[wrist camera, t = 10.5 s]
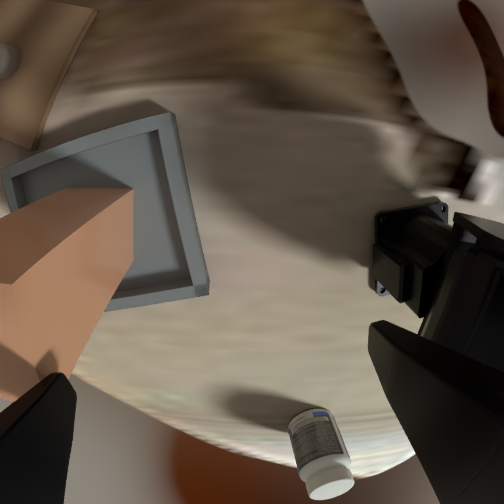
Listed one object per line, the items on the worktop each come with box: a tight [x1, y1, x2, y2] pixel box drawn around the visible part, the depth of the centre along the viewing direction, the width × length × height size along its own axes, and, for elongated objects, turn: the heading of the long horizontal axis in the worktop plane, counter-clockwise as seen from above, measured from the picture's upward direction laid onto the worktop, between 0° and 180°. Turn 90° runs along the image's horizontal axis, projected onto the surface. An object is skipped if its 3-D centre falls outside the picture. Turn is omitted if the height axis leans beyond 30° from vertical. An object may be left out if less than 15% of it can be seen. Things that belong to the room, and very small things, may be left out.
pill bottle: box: [288, 409, 354, 500], centre depth 24 cm, size 5×5×8 cm
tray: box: [1, 112, 210, 312], centre depth 18 cm, size 12×11×2 cm
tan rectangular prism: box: [0, 187, 134, 401], centre depth 12 cm, size 6×5×13 cm
